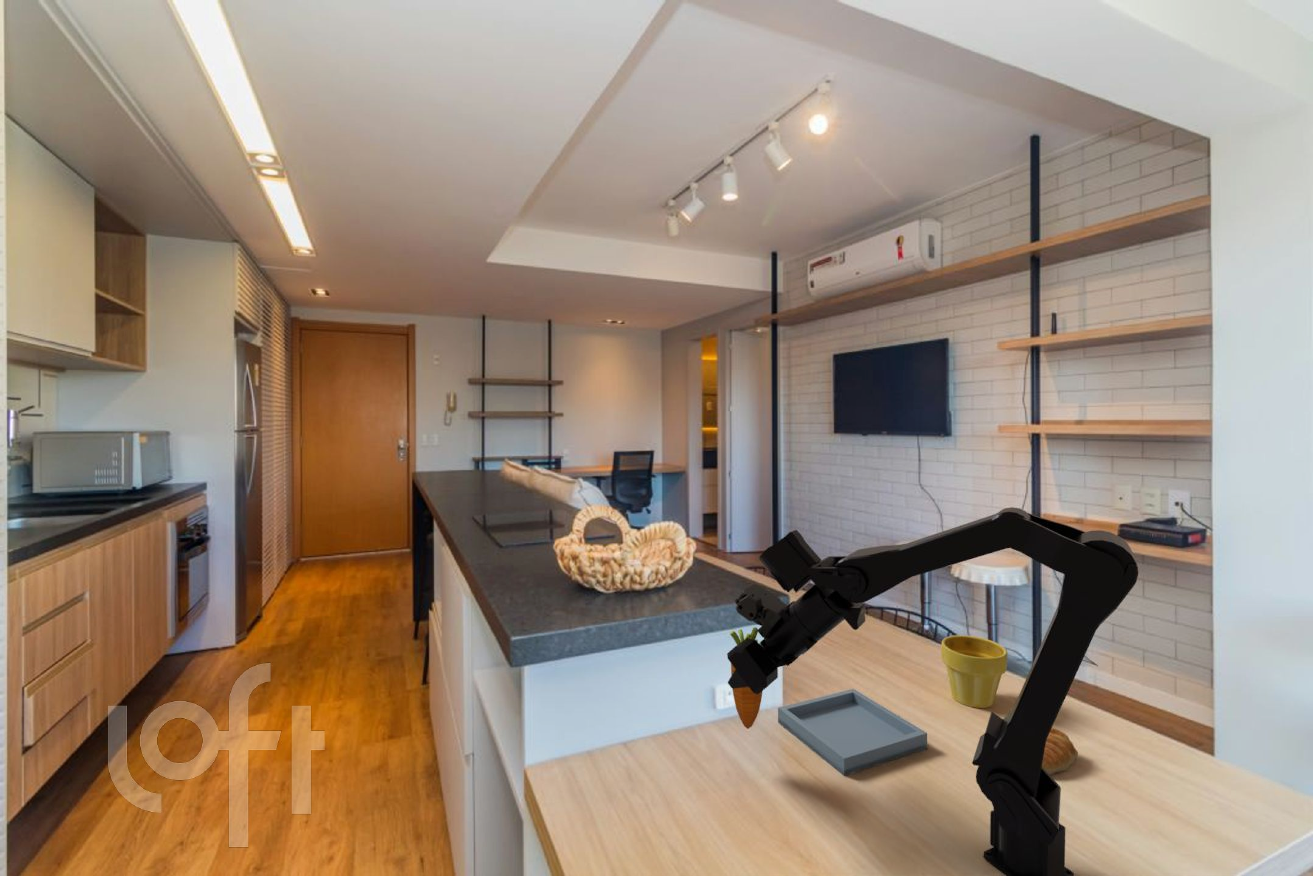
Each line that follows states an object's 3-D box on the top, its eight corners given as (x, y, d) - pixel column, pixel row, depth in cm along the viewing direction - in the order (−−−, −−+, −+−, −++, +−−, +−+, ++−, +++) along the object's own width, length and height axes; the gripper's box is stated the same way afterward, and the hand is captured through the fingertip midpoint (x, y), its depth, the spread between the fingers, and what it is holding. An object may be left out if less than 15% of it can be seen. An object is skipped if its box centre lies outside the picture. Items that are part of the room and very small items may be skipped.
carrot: (725, 732, 86) (723, 630, 85) (737, 716, 90) (735, 619, 90) (758, 740, 84) (757, 636, 83) (769, 724, 88) (767, 624, 87)
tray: (927, 749, 91) (927, 733, 91) (844, 775, 84) (844, 758, 84) (853, 702, 105) (853, 688, 105) (778, 722, 99) (778, 707, 99)
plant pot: (1014, 717, 100) (1015, 660, 99) (947, 710, 102) (947, 654, 102) (996, 689, 110) (997, 637, 109) (935, 683, 112) (936, 632, 112)
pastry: (1062, 786, 82) (1062, 759, 82) (1007, 766, 87) (1008, 740, 87) (1079, 759, 88) (1079, 733, 88) (1027, 741, 93) (1028, 717, 93)
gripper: (796, 557, 91) (733, 615, 98) (739, 587, 76) (670, 653, 83) (848, 617, 87) (778, 673, 94) (799, 661, 72) (720, 724, 79)
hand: (738, 678), depth 88 cm, fingers closed on carrot, 5 cm apart
